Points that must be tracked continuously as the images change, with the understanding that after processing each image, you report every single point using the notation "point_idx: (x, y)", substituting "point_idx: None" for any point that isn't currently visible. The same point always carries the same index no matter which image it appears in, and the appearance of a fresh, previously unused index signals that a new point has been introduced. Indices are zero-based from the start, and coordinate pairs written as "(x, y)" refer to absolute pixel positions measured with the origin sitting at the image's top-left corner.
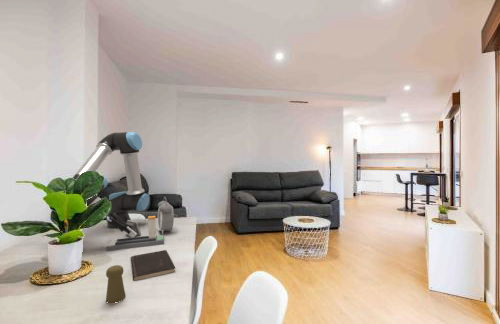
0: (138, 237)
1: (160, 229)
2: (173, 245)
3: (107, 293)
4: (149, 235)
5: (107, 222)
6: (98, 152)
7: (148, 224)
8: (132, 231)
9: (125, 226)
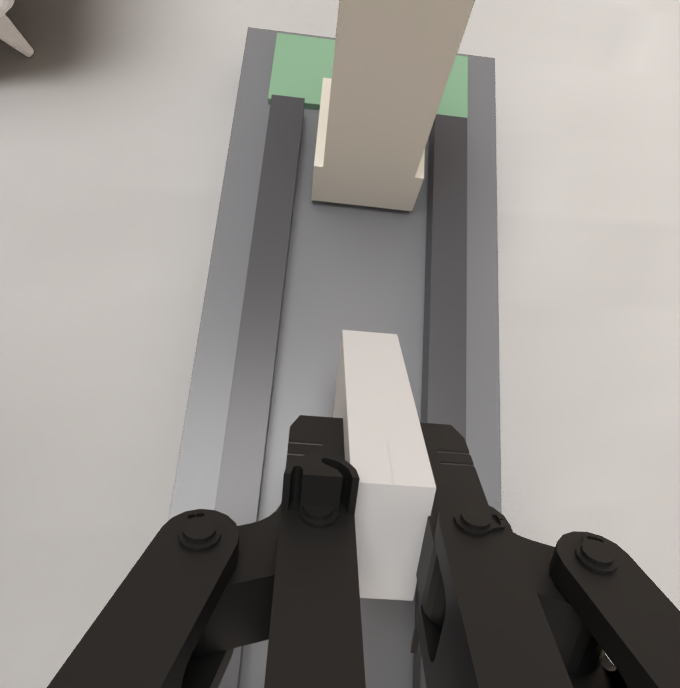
0: (276, 340)
1: (1, 14)
2: (563, 19)
3: None
4: (416, 162)
5: None
6: None
7: (469, 11)
8: (407, 391)
9: (503, 533)
